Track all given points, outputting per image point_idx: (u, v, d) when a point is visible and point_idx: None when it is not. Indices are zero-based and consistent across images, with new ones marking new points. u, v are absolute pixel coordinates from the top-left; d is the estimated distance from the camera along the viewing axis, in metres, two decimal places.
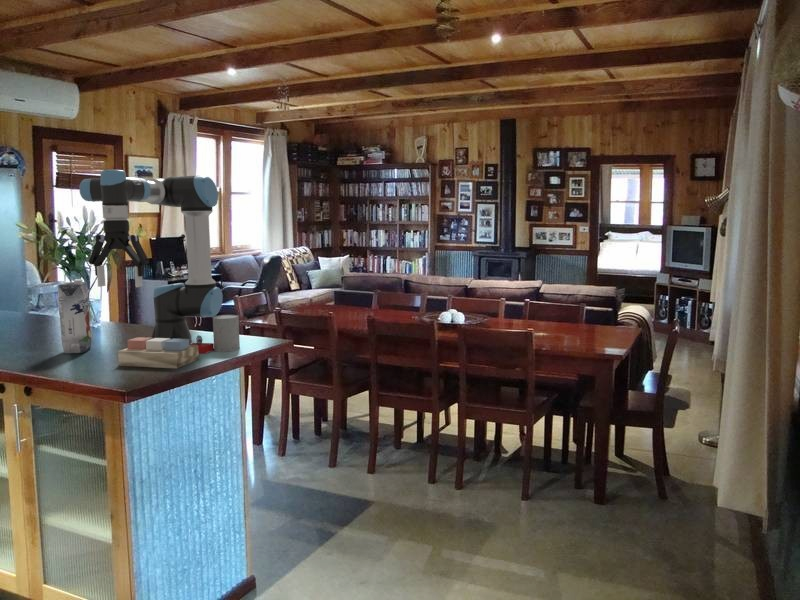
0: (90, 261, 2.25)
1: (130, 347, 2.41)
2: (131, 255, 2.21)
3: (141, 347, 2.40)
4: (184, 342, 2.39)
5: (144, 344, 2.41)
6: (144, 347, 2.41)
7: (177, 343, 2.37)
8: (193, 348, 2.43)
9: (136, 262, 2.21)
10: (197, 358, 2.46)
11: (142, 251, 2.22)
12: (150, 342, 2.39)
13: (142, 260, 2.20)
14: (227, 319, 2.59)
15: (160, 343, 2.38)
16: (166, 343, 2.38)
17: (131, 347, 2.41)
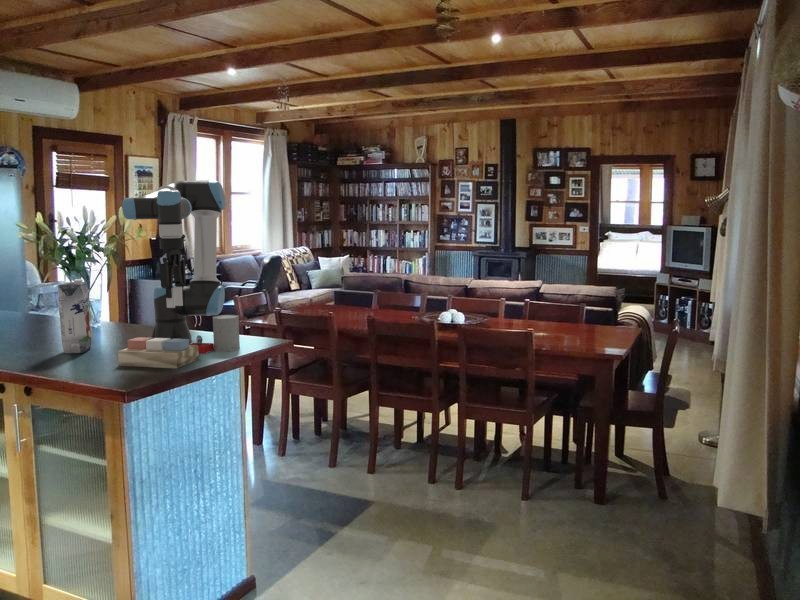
0: None
1: (130, 347, 2.41)
2: None
3: (141, 347, 2.40)
4: (184, 342, 2.39)
5: (144, 344, 2.41)
6: (144, 347, 2.41)
7: (177, 343, 2.37)
8: (193, 348, 2.43)
9: None
10: (197, 358, 2.46)
11: (164, 275, 2.31)
12: (150, 342, 2.39)
13: None
14: (227, 319, 2.59)
15: (160, 343, 2.38)
16: (166, 343, 2.38)
17: (131, 347, 2.41)
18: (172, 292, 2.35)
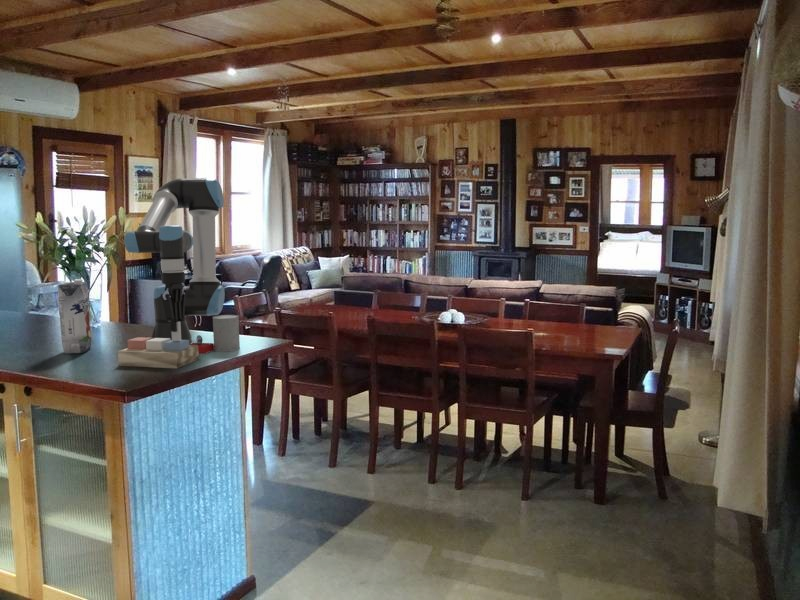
0: None
1: (130, 347, 2.41)
2: None
3: (141, 347, 2.40)
4: (184, 343, 2.39)
5: (144, 344, 2.41)
6: (144, 347, 2.41)
7: (177, 344, 2.37)
8: (193, 348, 2.43)
9: None
10: (197, 358, 2.46)
11: (168, 310, 2.34)
12: (150, 342, 2.39)
13: None
14: (227, 319, 2.59)
15: (160, 343, 2.38)
16: (166, 344, 2.38)
17: (131, 347, 2.41)
18: (177, 326, 2.38)
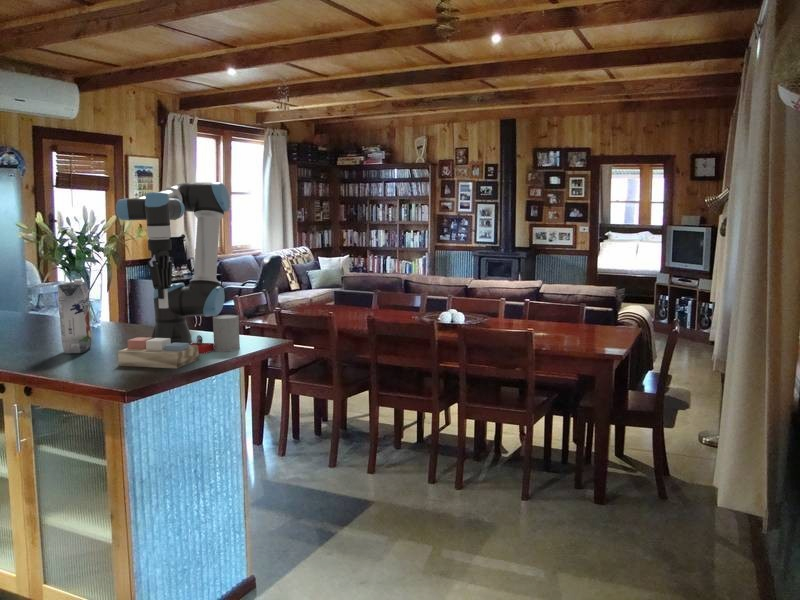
0: None
1: (130, 347, 2.41)
2: None
3: (141, 347, 2.40)
4: (184, 346, 2.39)
5: (144, 344, 2.41)
6: (144, 347, 2.41)
7: (177, 347, 2.37)
8: (193, 348, 2.43)
9: None
10: (197, 358, 2.46)
11: (155, 277, 2.34)
12: (150, 342, 2.39)
13: None
14: (227, 319, 2.59)
15: (160, 343, 2.38)
16: (166, 347, 2.38)
17: (131, 347, 2.41)
18: (164, 293, 2.38)
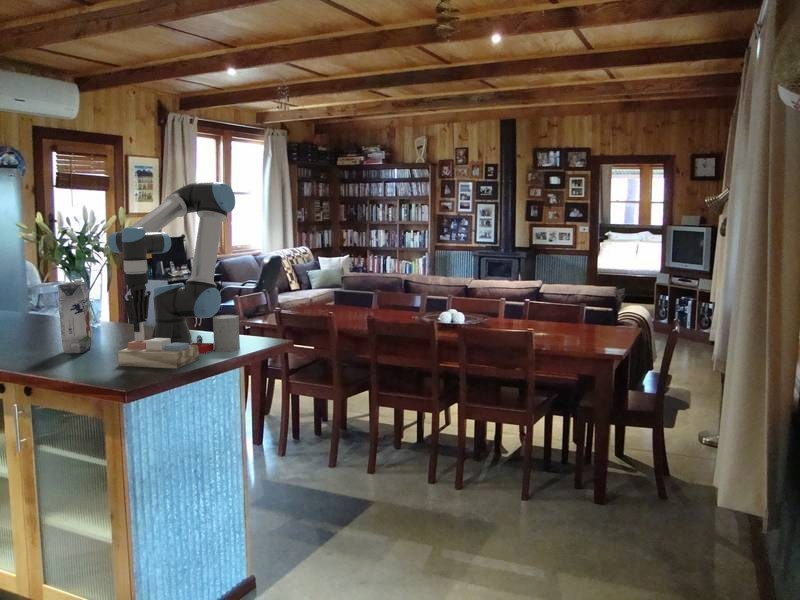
0: None
1: None
2: None
3: (141, 349, 2.40)
4: (184, 346, 2.39)
5: (144, 346, 2.41)
6: None
7: (177, 347, 2.37)
8: (193, 348, 2.43)
9: None
10: (197, 358, 2.46)
11: (130, 311, 2.37)
12: (150, 342, 2.39)
13: None
14: (227, 319, 2.59)
15: (160, 343, 2.38)
16: (166, 347, 2.38)
17: None
18: (140, 326, 2.42)
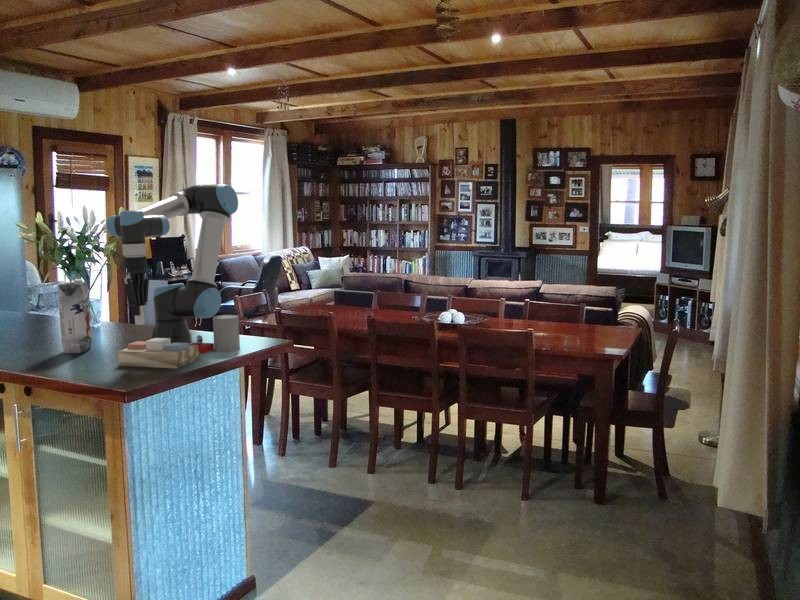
0: None
1: None
2: None
3: None
4: (184, 346, 2.39)
5: (144, 348, 2.41)
6: None
7: (177, 347, 2.37)
8: (193, 348, 2.43)
9: None
10: (197, 358, 2.46)
11: (130, 294, 2.37)
12: (150, 342, 2.39)
13: None
14: (227, 319, 2.59)
15: (160, 343, 2.38)
16: (166, 347, 2.38)
17: None
18: (140, 309, 2.41)
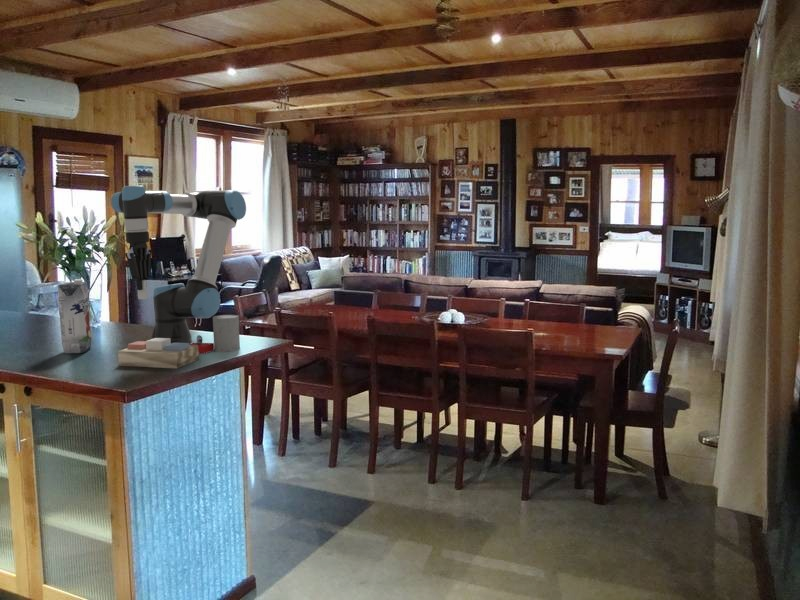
0: None
1: None
2: None
3: None
4: (184, 346, 2.39)
5: (144, 348, 2.41)
6: None
7: (177, 347, 2.37)
8: (193, 348, 2.43)
9: None
10: (197, 358, 2.46)
11: (133, 269, 2.40)
12: (150, 342, 2.39)
13: None
14: (227, 319, 2.59)
15: (160, 343, 2.38)
16: (166, 347, 2.38)
17: None
18: (143, 284, 2.44)
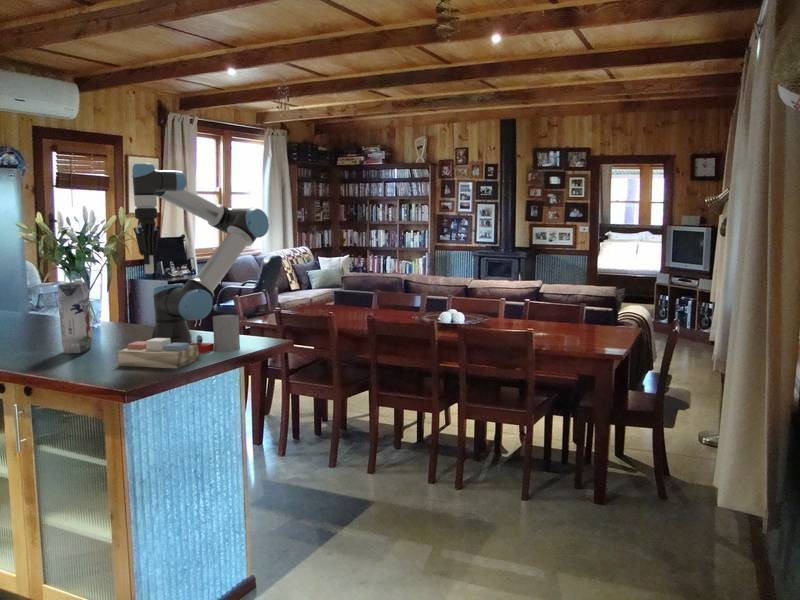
0: None
1: None
2: None
3: None
4: (184, 346, 2.39)
5: (144, 348, 2.41)
6: None
7: (177, 347, 2.37)
8: (193, 348, 2.43)
9: None
10: (197, 358, 2.46)
11: (141, 243, 2.49)
12: (150, 342, 2.39)
13: None
14: (227, 319, 2.59)
15: (160, 343, 2.38)
16: (166, 347, 2.38)
17: None
18: (150, 259, 2.53)
